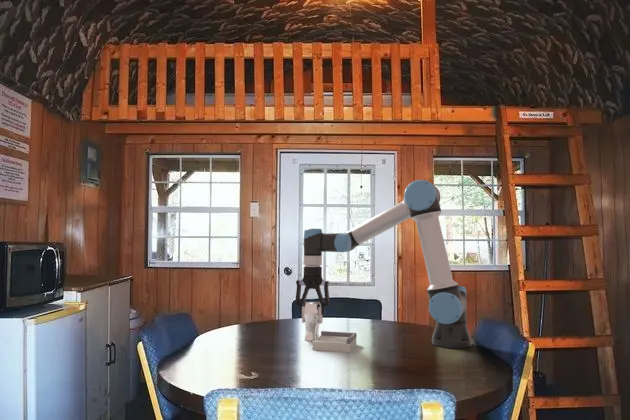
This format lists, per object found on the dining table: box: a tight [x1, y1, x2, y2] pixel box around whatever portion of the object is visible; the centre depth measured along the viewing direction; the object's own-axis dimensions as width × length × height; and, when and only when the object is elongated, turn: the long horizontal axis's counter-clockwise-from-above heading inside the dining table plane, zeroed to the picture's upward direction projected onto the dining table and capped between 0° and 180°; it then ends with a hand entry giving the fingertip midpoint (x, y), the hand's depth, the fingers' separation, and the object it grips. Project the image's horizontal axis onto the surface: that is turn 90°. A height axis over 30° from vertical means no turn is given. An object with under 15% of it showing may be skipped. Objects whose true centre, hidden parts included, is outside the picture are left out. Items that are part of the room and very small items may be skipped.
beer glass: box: [304, 301, 321, 342], centre depth 211 cm, size 7×7×15 cm
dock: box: [312, 330, 357, 353], centre depth 197 cm, size 14×14×4 cm
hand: (312, 322), depth 211 cm, fingers closed on beer glass, 7 cm apart
